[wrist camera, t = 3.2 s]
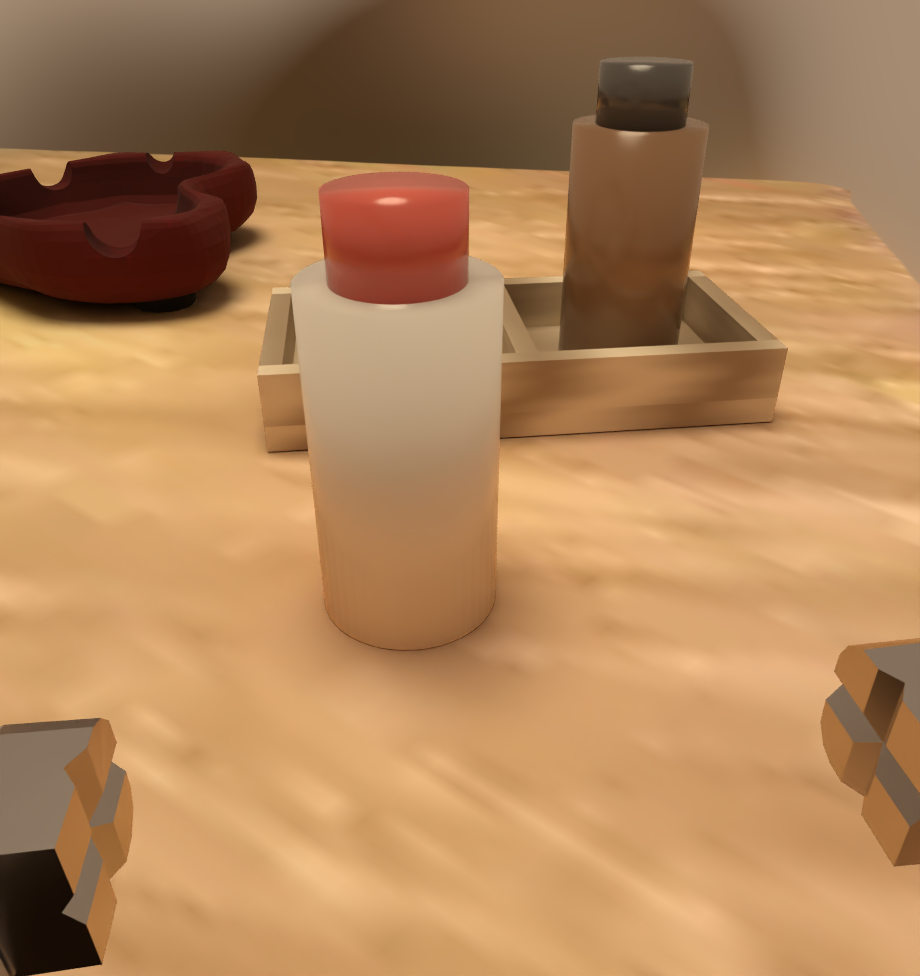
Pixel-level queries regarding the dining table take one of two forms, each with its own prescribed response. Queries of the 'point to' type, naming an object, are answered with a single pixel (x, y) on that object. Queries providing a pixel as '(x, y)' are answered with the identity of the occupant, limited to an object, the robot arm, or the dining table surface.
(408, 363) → the white shaker
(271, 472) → the dining table surface
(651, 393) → the caddy
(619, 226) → the brown soy bottle
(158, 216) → the ashtray
